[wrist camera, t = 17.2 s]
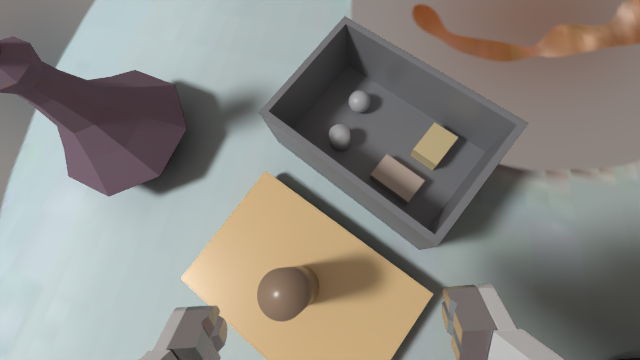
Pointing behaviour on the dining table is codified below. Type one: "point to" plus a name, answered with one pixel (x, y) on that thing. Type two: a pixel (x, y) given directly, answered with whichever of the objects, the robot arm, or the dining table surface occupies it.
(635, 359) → the coffee jar
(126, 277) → the dining table surface
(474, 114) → the tub
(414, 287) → the lid
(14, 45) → the flask
